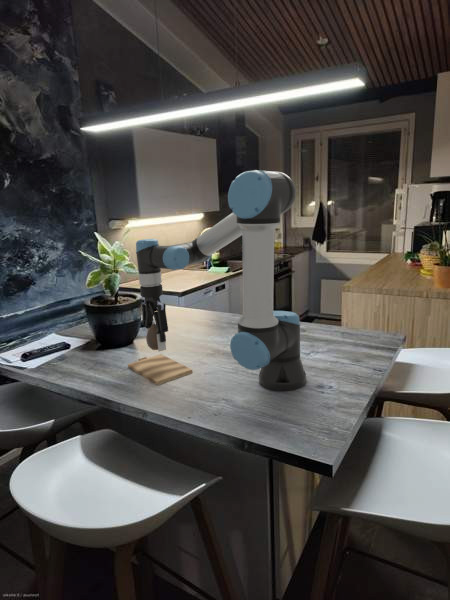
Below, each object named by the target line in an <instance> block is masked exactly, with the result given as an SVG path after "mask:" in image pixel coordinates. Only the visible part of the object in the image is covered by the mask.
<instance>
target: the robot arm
mask: <svg viewBox="0 0 450 600" xmlns="http://www.w3.org/2000/svg"><path fill="white" fill-rule="evenodd" d="M296 197H297V189H296V186H295V183H294V181H293V180H292V178H291V177H290V176H288V174H286V173H284V172H281V171H268V170H261V169H259V170H257V169H254V170H247V171H244V172H242V173H240V174H238V175H237V176H236V177H235V178H234V180H232V181H231V184H230V186H229V189H228V193H227V203H228V208H229V209H230V210H232V212H231V213H230V214H229V215H227V216H226V217H224V218H222V219H221V220H220V221H219V222H218V223H216V224H215V225H213V226H212V227H210V228H209V229H207V230H206V231H205V232H203V233H202V234H200V235H199V236H197V238H195V239H193V240H192V241H190V242H185V243H179V244H178V243H177V244H172V245H160V244H159V240H158V239H156V238H145V239H139V240H137V241H136V242H135V248H136V249H135V253H136V261H137V270H138V271H137V272H138V273H137V274H138V282H139V285H140V287H139V291H140V297H141V299H140V304H141V320H142V326H144V327H145V330H146V334H147V333H148V331H149V329H150V328H151V325H152V324H156V327H157V330H158V332H157V333H156V334H157V342H158V350H157V352H160V353H161V352H162V351H166V350H167V345H166V343H167V341H166V342H165V335H166V333H167V332H169V327H168V319H167V312H166V311H167V310H166V307H167V306H166V303H165V302H164V303H161V302H162V301H161V299H160V297H161V296H162V295H163V294H164V293H163V291H164V290H163V284H162V273H161V272H162V271H161V270H162V269H163V270H171V271H176V270H178V271H179V270H180V271H181V270H183V269H185V268H186V267H187V266H190V265H195V264H202V263H204V262H207V261H209V260H210V259H211V257H212V255H213V254H215V253H216V252H218V251H220V250H221V249H222V248H224V247H226V246H227V245H229V244H230V243H232V242H233V241H234V242H235V240H236V239H238V238H240V237H241V236H242V237H241V238H242V239H241V241H242V242H241V243H242V244H241V245H242V315H241V316H240V317H239V318H238V319H237V332H236V333H235V334H234V335H233V337H232V338H231V340H230V344H229V345H230V346H229V347H230V352H231V355H232V357H233V359H234V360H236V362H237V364H238V365H240V366H241V367H242V368H245V369H247V370H250V371H257V370H260V371H259V372H258V382H259V385H261V386H262V387H264V388H266V389H268V390H272V391H279V392H281V391H283V392H284V391H294V390H298V389H300V388H302V387H304V386H305V385H306V384H307V375H306V371H305V370H304V369H305V368H304V366H303V362H302V360H301V323H300V315H298V314H297V313H296V312H293V311H286V310H274V287H275V286H274V285H275V281H274V280H275V279H274V277H275V276H274V274H275V273H274V272H275V270H274V269H275V230H276V228H277V227H278V226H280V224H281V215H283V214H284V213H286V212H287V211H289V210H290V209H291V208H292V206H293V205H294V203H295V201H296Z"/></svg>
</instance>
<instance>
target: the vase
mask: <svg viewBox="0 0 450 600" xmlns="http://www.w3.org/2000/svg"><path fill="white" fill-rule="evenodd" d="M157 332H158V330H157V327H156V323H153V324H152V325H151V328H150V329H149V331H148V333H147V332H146V345H147V347H149V349H151V350H153V351H158V342H157V334H156V333H157ZM165 342H166V343H167V335H166V334H165Z"/></svg>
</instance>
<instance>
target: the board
mask: <svg viewBox="0 0 450 600" xmlns="http://www.w3.org/2000/svg"><path fill="white" fill-rule="evenodd" d="M127 368H129V369H130V370H132V371H134V372H136V374H138V375H140V376H142V377H143V378H145V379H146V380H149V381H150V382H152V383H153V384H155V385H156V386H160V385H163V384H164V383H168V382H171V381H173V380H175V379H179V378H181V377H184V376H188V375H191V374H193V369H192V368H190V367H189V366H188V367H187V366H186V365H183V364H182V363H179V362H178V361H175V360H174V359H172V358H170V357H167V356H165V355H163V354H162V353H161V354H157V355H154V356H150V357H145V356H144V357H142V358H138V360H137V361H134V362H130V363H128V364H127Z"/></svg>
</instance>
